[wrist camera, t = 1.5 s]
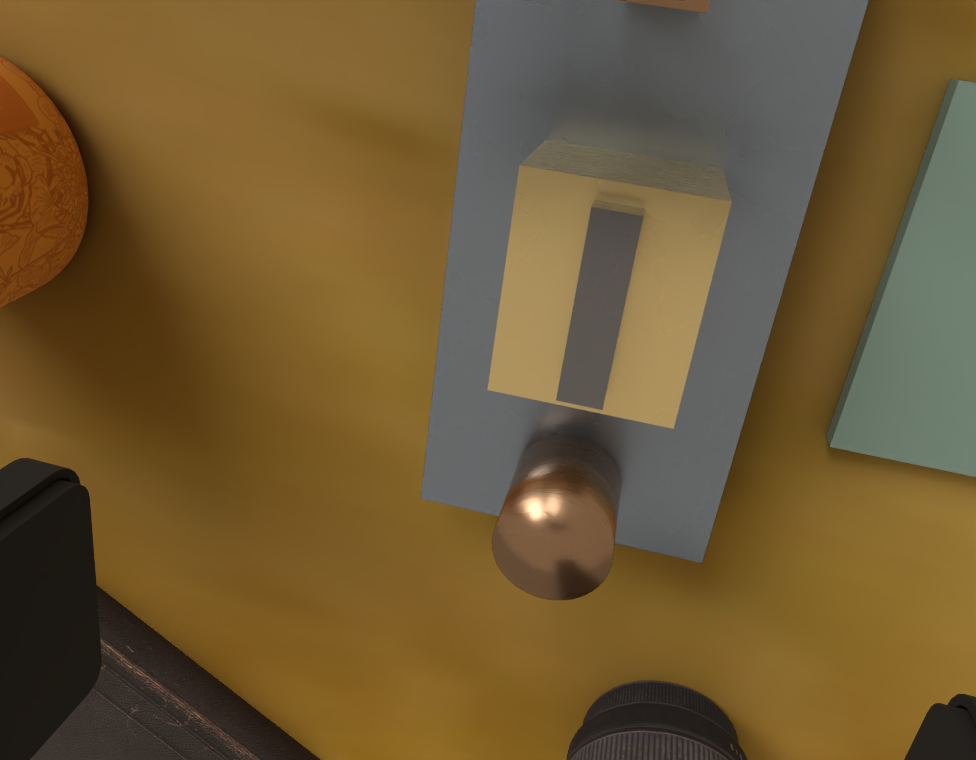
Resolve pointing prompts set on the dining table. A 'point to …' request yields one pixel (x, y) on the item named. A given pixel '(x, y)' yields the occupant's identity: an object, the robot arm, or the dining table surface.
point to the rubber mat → (923, 316)
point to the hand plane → (734, 287)
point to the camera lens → (655, 726)
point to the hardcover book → (160, 706)
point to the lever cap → (607, 279)
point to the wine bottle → (36, 187)
